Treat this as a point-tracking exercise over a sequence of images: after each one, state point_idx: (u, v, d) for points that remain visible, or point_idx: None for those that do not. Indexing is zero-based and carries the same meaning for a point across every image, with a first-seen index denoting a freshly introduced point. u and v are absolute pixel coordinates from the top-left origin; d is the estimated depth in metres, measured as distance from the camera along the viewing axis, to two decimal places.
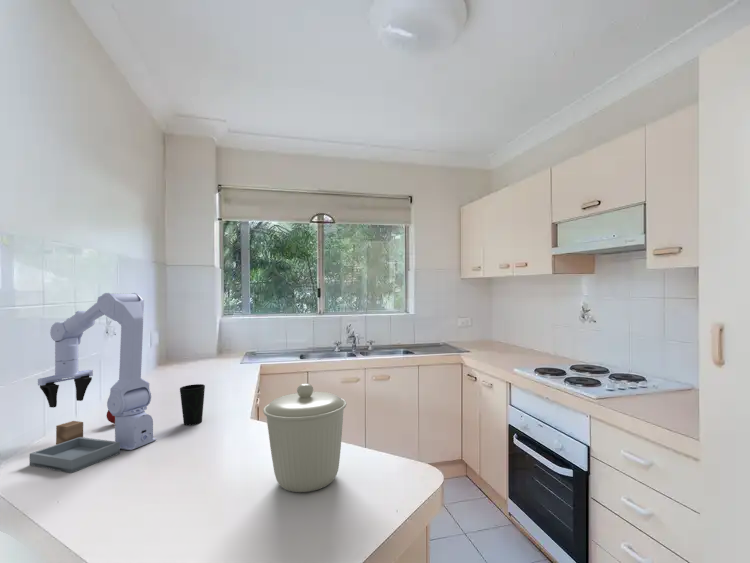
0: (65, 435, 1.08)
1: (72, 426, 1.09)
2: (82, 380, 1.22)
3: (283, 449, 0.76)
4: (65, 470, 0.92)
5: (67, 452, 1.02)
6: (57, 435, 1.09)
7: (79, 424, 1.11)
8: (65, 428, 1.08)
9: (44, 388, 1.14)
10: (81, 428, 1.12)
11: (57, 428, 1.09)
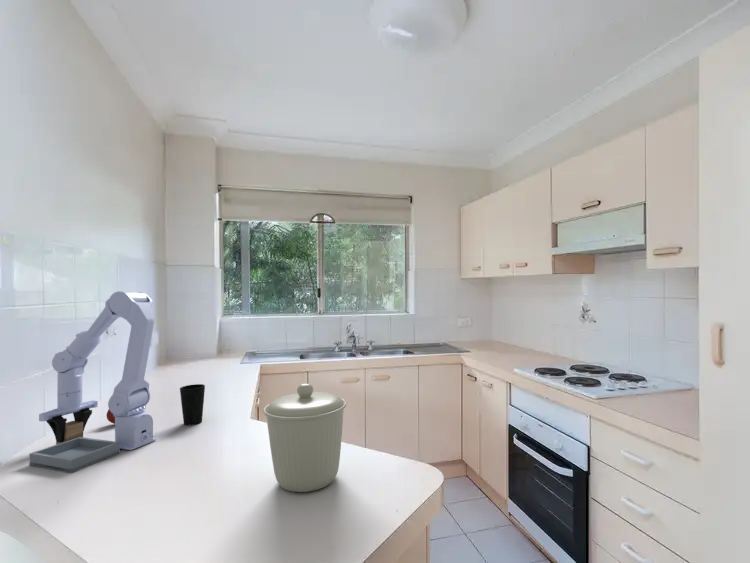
0: (65, 435, 1.08)
1: (72, 426, 1.09)
2: (82, 414, 1.13)
3: (283, 449, 0.76)
4: (65, 470, 0.92)
5: (67, 452, 1.02)
6: None
7: (79, 424, 1.11)
8: (65, 428, 1.08)
9: (51, 422, 1.07)
10: (81, 428, 1.12)
11: None
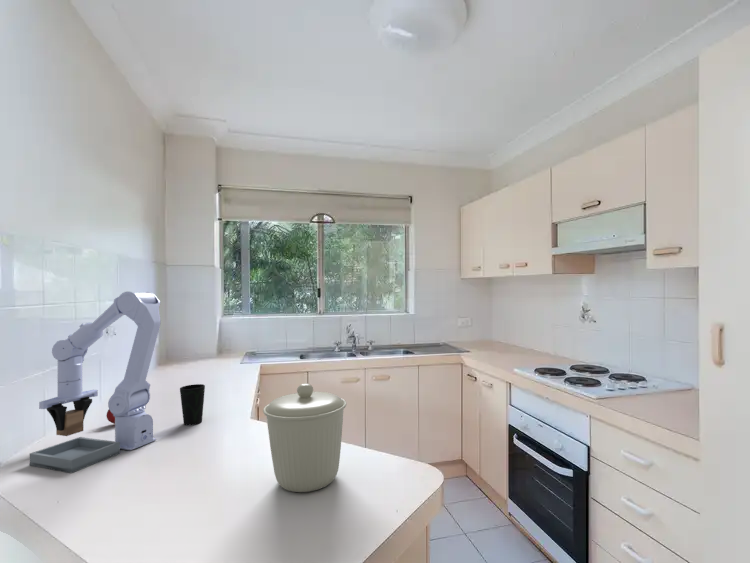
0: (65, 423, 1.08)
1: (72, 414, 1.10)
2: (82, 402, 1.13)
3: (283, 449, 0.76)
4: (65, 470, 0.92)
5: (67, 452, 1.02)
6: None
7: (79, 412, 1.11)
8: (65, 416, 1.08)
9: (51, 410, 1.08)
10: (81, 417, 1.12)
11: None
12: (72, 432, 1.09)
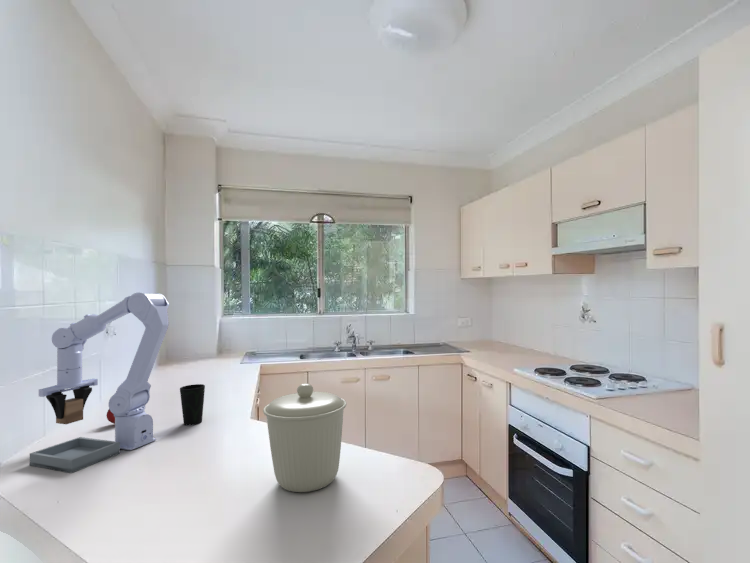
0: (65, 411, 1.07)
1: (72, 402, 1.09)
2: (82, 391, 1.12)
3: (283, 449, 0.76)
4: (65, 470, 0.92)
5: (67, 452, 1.02)
6: None
7: (79, 401, 1.11)
8: (65, 404, 1.07)
9: (51, 398, 1.07)
10: (81, 405, 1.11)
11: None
12: (72, 420, 1.08)
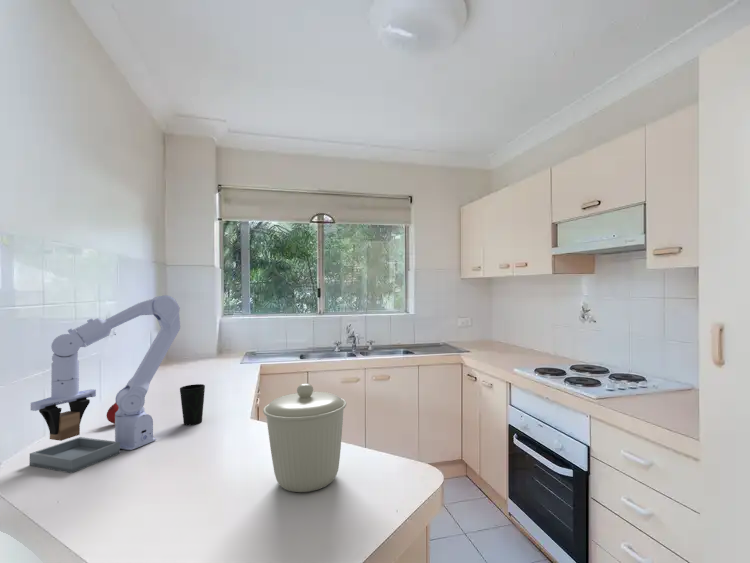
0: (59, 426, 0.98)
1: (67, 416, 0.99)
2: (78, 403, 1.02)
3: (283, 449, 0.76)
4: (65, 470, 0.92)
5: (67, 452, 1.02)
6: None
7: (75, 414, 1.01)
8: (60, 418, 0.98)
9: (44, 412, 0.97)
10: (77, 419, 1.01)
11: None
12: (67, 436, 0.99)
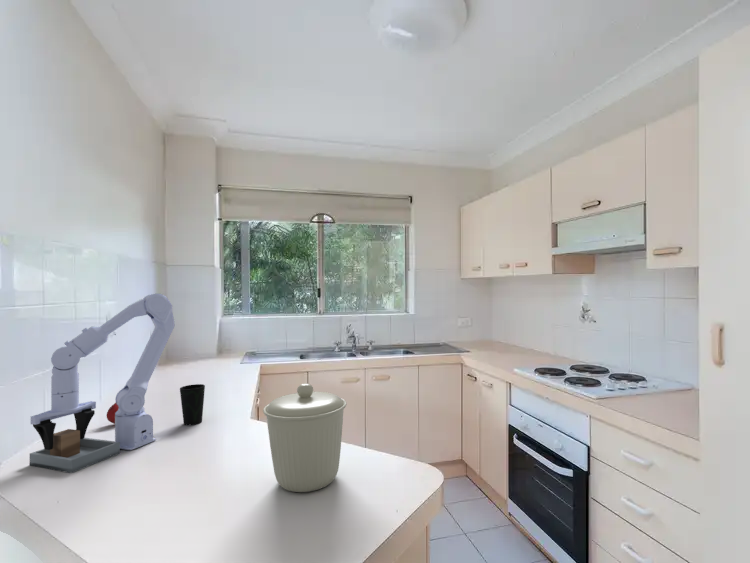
0: (60, 445, 0.97)
1: (67, 435, 0.99)
2: (83, 414, 1.03)
3: (283, 449, 0.76)
4: (65, 470, 0.92)
5: None
6: None
7: (75, 433, 1.01)
8: (60, 437, 0.98)
9: (38, 427, 0.96)
10: (78, 438, 1.01)
11: None
12: (67, 455, 0.99)
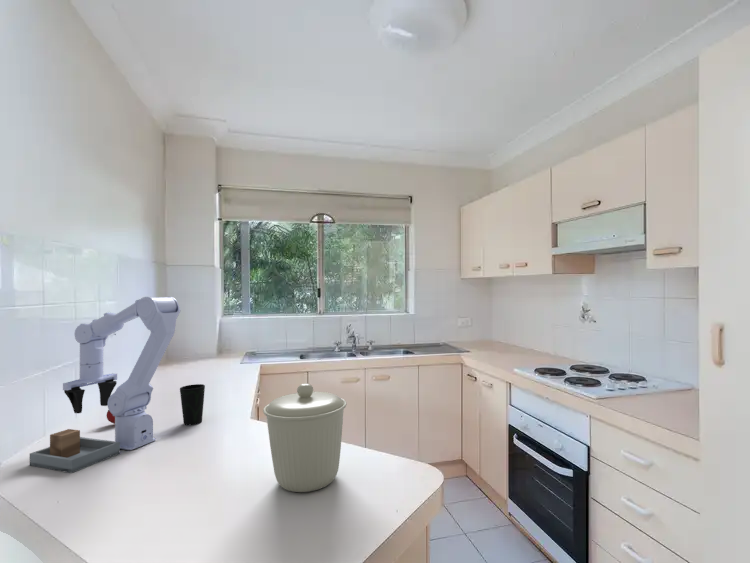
0: (60, 445, 0.97)
1: (67, 435, 0.99)
2: (107, 384, 1.16)
3: (283, 449, 0.76)
4: (65, 470, 0.92)
5: None
6: (50, 445, 0.99)
7: (75, 433, 1.01)
8: (60, 437, 0.98)
9: (69, 393, 1.08)
10: (78, 438, 1.01)
11: (51, 437, 0.99)
12: (67, 455, 0.99)
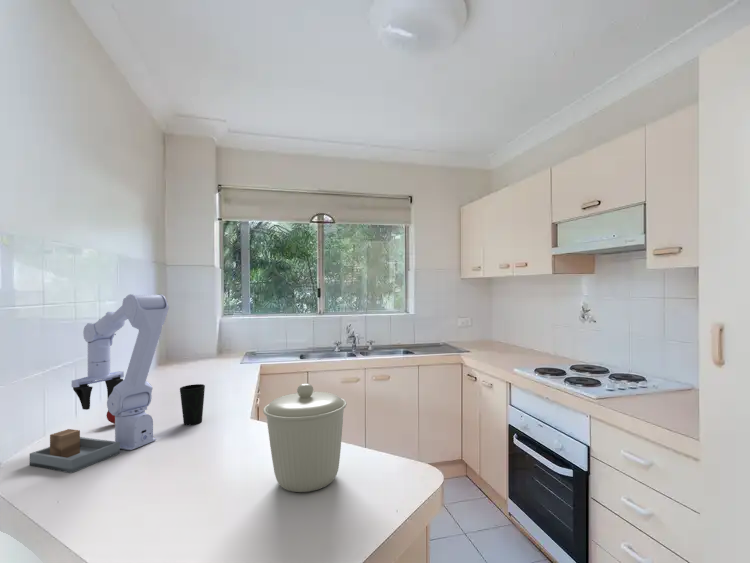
0: (60, 445, 0.97)
1: (67, 435, 0.99)
2: (114, 382, 1.20)
3: (283, 449, 0.76)
4: (65, 470, 0.92)
5: None
6: (50, 445, 0.99)
7: (75, 433, 1.01)
8: (60, 437, 0.98)
9: (77, 390, 1.13)
10: (78, 438, 1.01)
11: (51, 437, 0.99)
12: (67, 455, 0.99)
